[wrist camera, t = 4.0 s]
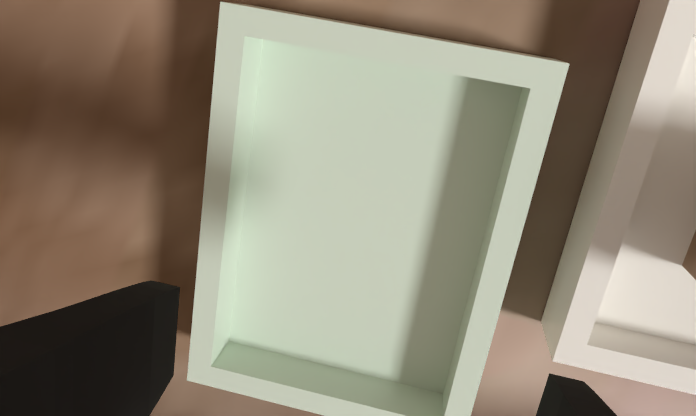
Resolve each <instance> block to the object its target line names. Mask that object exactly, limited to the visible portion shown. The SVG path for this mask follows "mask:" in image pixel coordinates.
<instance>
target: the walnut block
mask: <svg viewBox="0 0 696 416" xmlns="http://www.w3.org/2000/svg"><path fill="white" fill-rule="evenodd" d="M682 266H683V267H684V268H685V269H686V270H687V271H688V272H689V274H690V275H691V276H692V277H693V278H694V279H695V280H696V230H695V233H694V235H693V238H692V241H691V243H690V246H689V248H688V251H687V254H686V256H685V259H684V261H683V264H682Z"/></svg>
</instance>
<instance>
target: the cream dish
mask: <svg viewBox="0 0 696 416" xmlns="http://www.w3.org/2000/svg"><path fill="white" fill-rule="evenodd" d="M695 230H696V0H640V3H639V6H638V9H637V13H636V16H635V19H634V22H633V26H632V29H631V32H630V35H629V38H628V42H627V45H626V48H625V51H624V55H623V58H622V61H621V64H620V68H619V71H618V74H617V77H616V81H615V84H614V87H613V90H612V93H611V97H610V100H609V103H608V106H607V110H606V113H605V116H604V119H603V123H602V126H601V129H600V132H599V136H598V139H597V142H596V145H595V149H594V152H593V155H592V158H591V161H590V165H589V168H588V171H587V174H586V178H585V181H584V184H583V187H582V191H581V194H580V197H579V200H578V204H577V207H576V210H575V213H574V216H573V220H572V223H571V226H570V229H569V233H568V236H567V239H566V242H565V246H564V249H563V252H562V255H561V259H560V262H559V265H558V268H557V271H556V275H555V278H554V281H553V284H552V288H551V291H550V294H549V297H548V301H547V304H546V307H545V310H544V314H543V317H542V320H541V324H542V327H543V331H544V334H545V338H546V341H547V344H548V348H549V351H550V354H551V358H552V361H553V362H558V363H562V364H566V365H571V366H575V367H579V368H583V369H588V370H592V371H596V372H600V373H605V374H609V375H613V376H617V377H622V378H626V379H630V380H635V381H639V382H643V383H647V384H652V385H656V386H660V387H664V388H669V389H673V390H677V391H681V392H686V393H690V394H694V395H696V280H695V279H694V278H693V277H692V276H691V275H690V274H689V272H688V271H687V270H686V269H685V268H684V267H683V266H682V264H683V261H684V259H685V256H686V254H687V251H688V248H689V246H690V243H691V241H692V238H693V235H694V233H695Z"/></svg>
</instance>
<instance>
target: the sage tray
mask: <svg viewBox="0 0 696 416" xmlns="http://www.w3.org/2000/svg"><path fill="white" fill-rule="evenodd" d="M568 68H569V63H566V62H563V61H560V60H557V59H554V58H548V57H542V56H537V55H531V54H525V53H520V52H514V51H508V50H503V49H497V48H491V47H486V46H480V45H474V44H469V43H463V42H457V41H452V40H446V39H440V38H435V37H429V36H424V35H418V34H412V33H407V32H401V31H395V30H390V29H384V28H378V27H373V26H367V25H361V24H356V23H350V22H344V21H339V20H333V19H327V18H322V17H316V16H310V15H305V14H299V13H294V12H288V11H282V10H277V9H271V8H265V7H260V6H254V5H247V4H238V3H229V2H220V10H219V22H218V33H217V45H216V56H215V67H214V79H213V90H212V101H211V113H210V124H209V135H208V147H207V158H206V170H205V181H204V192H203V204H202V215H201V226H200V238H199V249H198V261H197V272H196V283H195V295H194V306H193V317H192V329H191V340H190V351H189V363H188V374H187V381H191V382H195V383H199V384H203V385H207V386H211V387H214V388H218V389H222V390H226V391H230V392H234V393H238V394H242V395H246V396H250V397H254V398H257V399H261V400H265V401H269V402H273V403H277V404H281V405H285V406H289V407H293V408H297V409H300V410H304V411H308V412H312V413H316V414H320V415H324V416H471V413H472V409H473V406H474V402H475V398H476V395H477V391H478V388H479V384H480V381H481V377H482V374H483V370H484V366H485V363H486V359H487V356H488V352H489V349H490V345H491V342H492V338H493V334H494V331H495V327H496V324H497V320H498V317H499V313H500V310H501V306H502V302H503V299H504V295H505V292H506V288H507V285H508V281H509V278H510V274H511V270H512V267H513V263H514V260H515V256H516V253H517V249H518V246H519V242H520V238H521V235H522V231H523V228H524V224H525V221H526V217H527V214H528V210H529V206H530V203H531V199H532V196H533V192H534V189H535V185H536V182H537V178H538V174H539V171H540V167H541V164H542V160H543V157H544V153H545V150H546V146H547V142H548V139H549V135H550V132H551V128H552V125H553V121H554V118H555V114H556V110H557V107H558V103H559V100H560V96H561V93H562V89H563V86H564V82H565V78H566V75H567V71H568Z"/></svg>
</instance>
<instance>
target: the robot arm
mask: <svg viewBox="0 0 696 416" xmlns="http://www.w3.org/2000/svg"><path fill="white" fill-rule="evenodd" d="M179 292H180V287H177V286H172V285H168V284H164V283H160V282H155V281H147V282H142V283H138V284H135V285H131V286H128V287H125V288H122V289H119V290H116V291H113V292H110V293H107V294H104V295H101V296H98V297H95V298H92V299H89V300H86V301H83V302H80V303H77V304H74V305H71V306H68V307H65V308H62V309H59V310H55V311H52V312H49V313H45V314H42V315H39V316H35V317H32V318H28V319H25V320H22V321H18V322H15V323H11V324H8V325H5V326H1V327H0V416H149V415H150V414H151V412H152V410H153V409H154V407H155V406H156V404H157V402H158V401H159V399H160V397H161V396H162V394H163V392H164V391H165V389H166V387H167V385H168V384H169V382H170V380H171V378H172V377H173V374H174V360H175V346H176V333H177V319H178V306H179ZM536 416H617V415H616V414H615V413H614V412H613V411H612V410H611V409H610V408H609V407H608V406H607V405H606V404H605V402H604V401H603V400H602V399H601V398H600V397H599V396H598V395H597V394H596V393H595V392H594V391H593V390H592V389H591V388H590V387H589V386H588V385H587V384H586V383H585V382H583V381H579V380H575V379H571V378H566V377H562V376H558V375H553V374H549V376H548V380H547V383H546V386H545V389H544V392H543V395H542V398H541V402H540V405H539V408H538V411H537V414H536Z"/></svg>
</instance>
